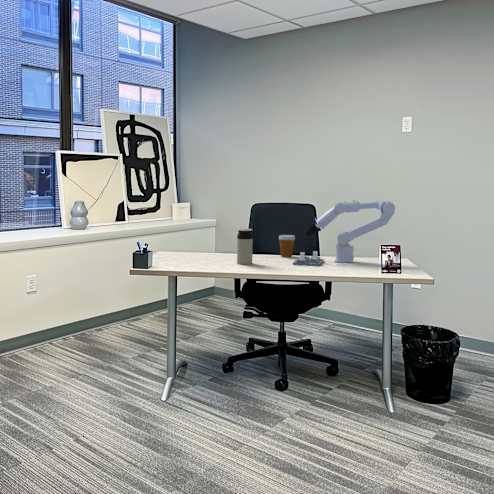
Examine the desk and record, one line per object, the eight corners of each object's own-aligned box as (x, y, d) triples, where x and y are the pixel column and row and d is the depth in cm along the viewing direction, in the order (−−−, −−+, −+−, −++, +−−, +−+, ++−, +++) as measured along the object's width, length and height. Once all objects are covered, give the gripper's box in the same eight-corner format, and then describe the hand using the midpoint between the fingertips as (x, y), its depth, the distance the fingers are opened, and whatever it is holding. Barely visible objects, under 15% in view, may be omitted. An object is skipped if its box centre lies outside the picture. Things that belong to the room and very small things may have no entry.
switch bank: (323, 261, 305) (323, 256, 304) (320, 266, 287) (320, 261, 287) (297, 259, 308) (298, 255, 308) (292, 264, 291) (293, 260, 290)
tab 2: (317, 259, 301) (317, 251, 301) (316, 260, 297) (317, 252, 297) (313, 258, 302) (313, 251, 301) (312, 260, 298) (312, 252, 297)
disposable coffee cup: (274, 256, 320) (275, 235, 319) (287, 255, 326) (287, 234, 324) (285, 258, 313) (286, 237, 311) (298, 257, 318) (298, 236, 317)
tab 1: (305, 260, 297) (305, 252, 296) (304, 261, 293) (304, 253, 292) (300, 260, 297) (300, 252, 297) (299, 261, 294) (299, 253, 293)
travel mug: (250, 265, 289) (251, 230, 286) (235, 264, 290) (235, 229, 288) (253, 262, 296) (254, 228, 294) (238, 262, 298) (239, 228, 296)
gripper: (323, 213, 310) (304, 228, 313) (321, 213, 296) (301, 229, 299) (331, 222, 309) (312, 238, 312) (329, 223, 295) (309, 239, 298)
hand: (307, 234), depth 305 cm, fingers open, 7 cm apart
